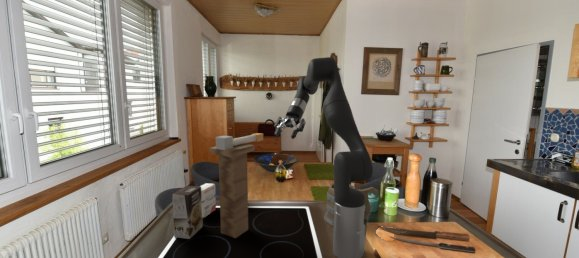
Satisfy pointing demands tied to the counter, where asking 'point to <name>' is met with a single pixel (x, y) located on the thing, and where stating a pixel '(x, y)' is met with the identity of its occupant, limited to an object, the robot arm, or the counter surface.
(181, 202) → the coffee box
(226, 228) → the stand
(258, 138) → the hammer
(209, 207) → the ink box
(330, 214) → the tankard
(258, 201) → the counter surface
